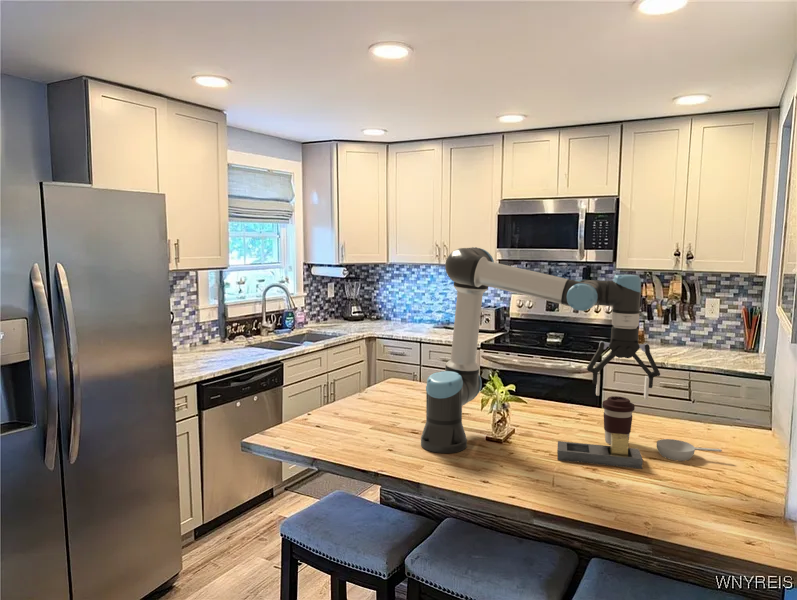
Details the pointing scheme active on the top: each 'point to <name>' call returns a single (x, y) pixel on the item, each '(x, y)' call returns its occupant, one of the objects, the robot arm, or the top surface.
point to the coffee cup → (617, 416)
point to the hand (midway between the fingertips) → (621, 396)
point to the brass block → (619, 444)
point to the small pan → (678, 449)
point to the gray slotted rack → (597, 455)
